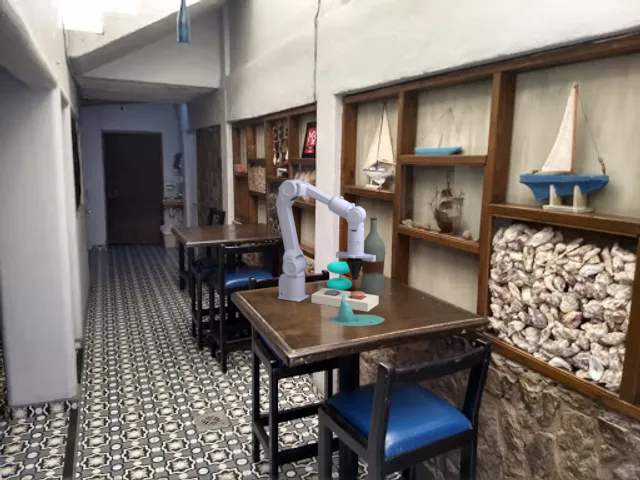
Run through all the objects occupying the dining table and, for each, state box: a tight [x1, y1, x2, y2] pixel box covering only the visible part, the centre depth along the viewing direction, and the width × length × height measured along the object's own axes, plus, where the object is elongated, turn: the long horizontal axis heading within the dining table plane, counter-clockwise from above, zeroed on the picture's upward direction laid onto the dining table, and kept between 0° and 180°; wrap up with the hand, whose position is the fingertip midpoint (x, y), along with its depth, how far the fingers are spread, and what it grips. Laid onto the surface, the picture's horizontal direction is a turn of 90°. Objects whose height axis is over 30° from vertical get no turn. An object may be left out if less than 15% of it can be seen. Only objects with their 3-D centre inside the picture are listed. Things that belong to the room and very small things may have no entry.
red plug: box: [350, 290, 365, 300], centre depth 171 cm, size 5×5×3 cm
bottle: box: [360, 216, 386, 299], centre depth 181 cm, size 9×9×30 cm
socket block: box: [310, 287, 380, 313], centre depth 174 cm, size 22×10×3 cm, turn 62°
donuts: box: [326, 261, 353, 291], centre depth 194 cm, size 10×10×10 cm
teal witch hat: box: [330, 296, 386, 327], centre depth 156 cm, size 12×20×9 cm, turn 94°
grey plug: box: [325, 290, 340, 296], centre depth 176 cm, size 5×5×3 cm
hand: (355, 279), depth 171 cm, fingers closed
